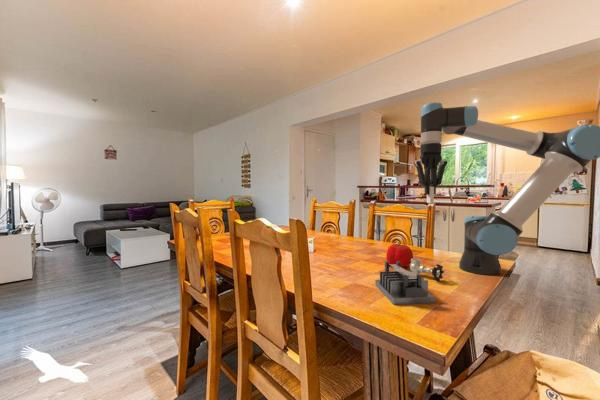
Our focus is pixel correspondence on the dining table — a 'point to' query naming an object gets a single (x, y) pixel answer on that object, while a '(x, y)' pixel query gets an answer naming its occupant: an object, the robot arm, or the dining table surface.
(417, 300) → the heatsink
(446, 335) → the dining table surface
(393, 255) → the tomato
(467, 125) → the robot arm
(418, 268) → the valve
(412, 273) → the grey long bar
